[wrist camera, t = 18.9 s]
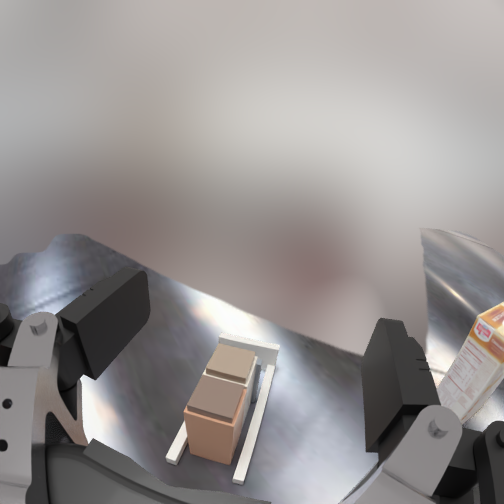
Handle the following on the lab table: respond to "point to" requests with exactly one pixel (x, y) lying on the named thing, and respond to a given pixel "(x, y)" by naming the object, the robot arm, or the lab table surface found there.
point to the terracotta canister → (215, 419)
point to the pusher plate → (256, 380)
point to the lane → (269, 358)
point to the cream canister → (234, 368)
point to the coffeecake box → (476, 366)
